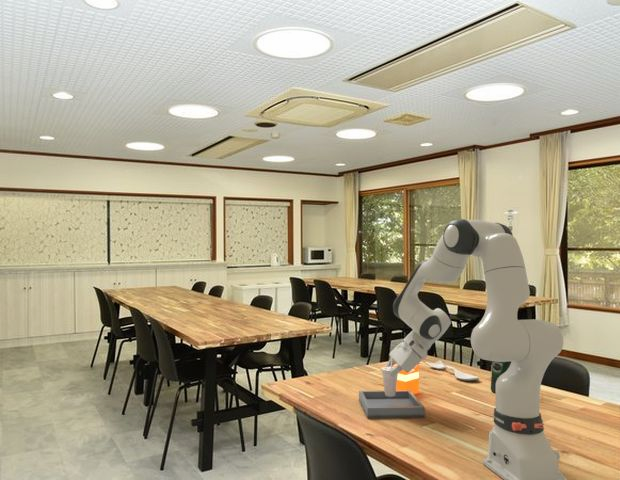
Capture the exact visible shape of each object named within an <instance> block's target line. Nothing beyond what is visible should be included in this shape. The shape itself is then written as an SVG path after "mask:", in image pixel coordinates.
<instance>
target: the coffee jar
mask: <svg viewBox="0 0 620 480" xmlns="http://www.w3.org/2000/svg"><path fill="white" fill-rule="evenodd" d="M511 362H512V361H508V362H494V361H491V377H490V391H491V392H493V393H495V394H496V381H497V379H498V377H499V376H501V375H502V374H503V373H505V372H506V371H507V370H508V368H509V367H510V365H511Z"/></svg>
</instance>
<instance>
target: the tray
mask: <svg viewBox="0 0 620 480" xmlns="http://www.w3.org/2000/svg"><path fill="white" fill-rule="evenodd" d="M358 401H359V404H360V406H361V407H362V410H363V412H364V414H365V416H366V418H367V419H408V418H410V419H413V418H415V419H416V418H419V419H420V418H426V412H425V411H426V407H425V405H423V403H422V402H421V401H420V400H419V399H418V397H417V396H416V394H413V393H412V392H411V391H410V390H407V391H396V393H395V396H393V397H389V396H386V395H385V390H359V391H358Z"/></svg>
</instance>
